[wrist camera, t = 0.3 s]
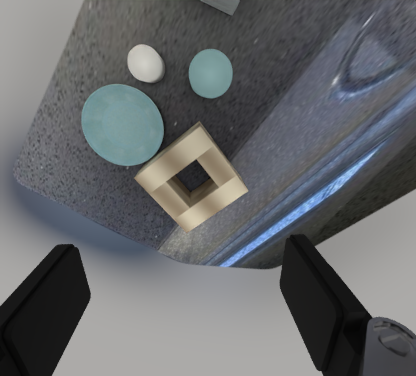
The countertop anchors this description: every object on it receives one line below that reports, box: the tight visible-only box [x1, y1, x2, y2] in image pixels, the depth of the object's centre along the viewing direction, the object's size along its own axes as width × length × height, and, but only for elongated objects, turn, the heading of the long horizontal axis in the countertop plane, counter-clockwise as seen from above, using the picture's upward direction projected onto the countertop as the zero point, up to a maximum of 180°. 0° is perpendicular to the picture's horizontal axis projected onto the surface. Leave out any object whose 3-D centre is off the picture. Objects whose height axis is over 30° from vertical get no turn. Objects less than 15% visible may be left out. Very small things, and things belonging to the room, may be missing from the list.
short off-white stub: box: [127, 45, 165, 83], centre depth 30 cm, size 4×4×5 cm
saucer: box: [81, 84, 164, 166], centre depth 34 cm, size 12×12×2 cm
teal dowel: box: [189, 49, 233, 98], centre depth 27 cm, size 4×4×14 cm
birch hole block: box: [134, 121, 248, 233], centre depth 36 cm, size 12×12×6 cm
